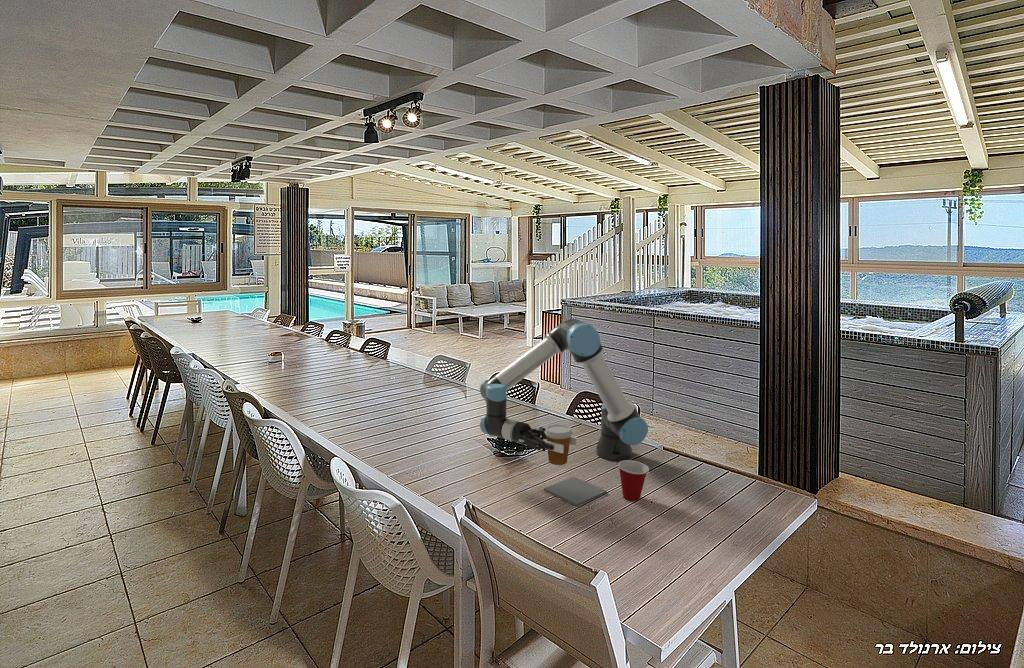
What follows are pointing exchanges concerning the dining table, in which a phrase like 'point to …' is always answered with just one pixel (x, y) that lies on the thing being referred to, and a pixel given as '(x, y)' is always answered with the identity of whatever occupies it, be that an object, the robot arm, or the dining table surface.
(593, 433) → the dining table surface
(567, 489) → the slate board
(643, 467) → the plastic cup
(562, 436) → the disposable coffee cup
